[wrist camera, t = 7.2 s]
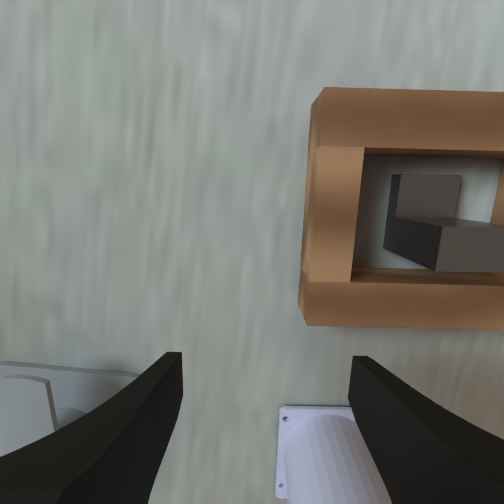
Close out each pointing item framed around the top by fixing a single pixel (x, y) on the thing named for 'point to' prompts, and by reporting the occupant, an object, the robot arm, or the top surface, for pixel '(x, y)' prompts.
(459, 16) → the top surface
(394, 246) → the grey l-shaped block
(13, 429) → the shower valve
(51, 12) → the top surface
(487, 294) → the well block
